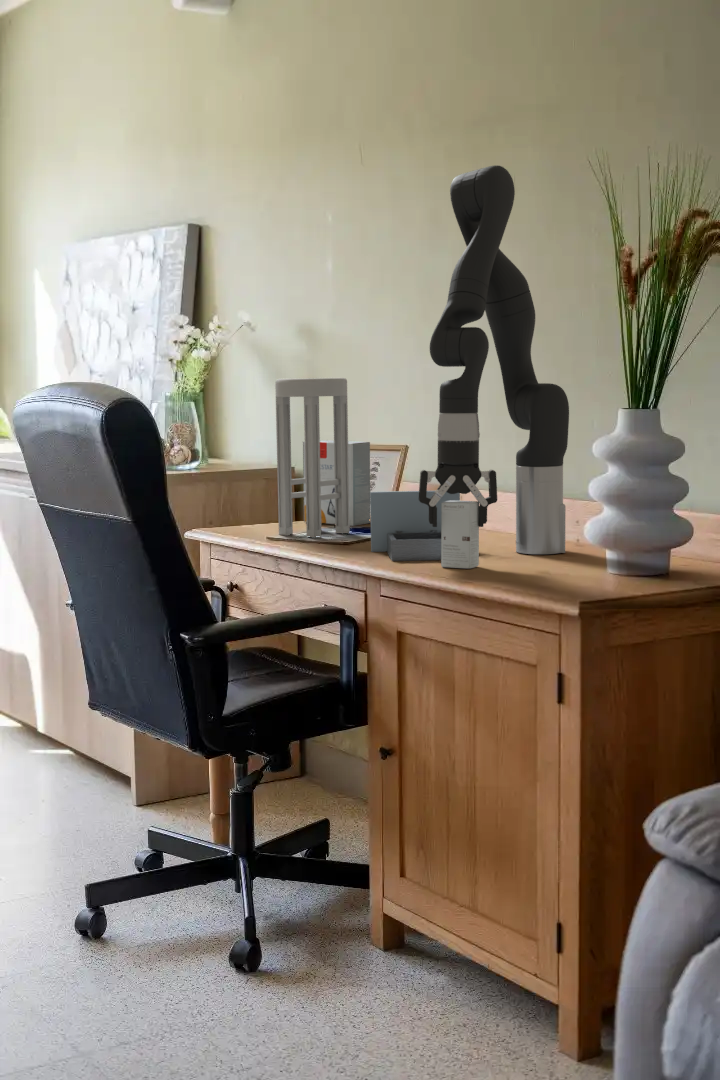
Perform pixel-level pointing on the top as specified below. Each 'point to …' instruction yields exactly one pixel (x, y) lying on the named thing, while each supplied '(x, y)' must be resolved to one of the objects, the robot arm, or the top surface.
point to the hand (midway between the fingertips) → (457, 526)
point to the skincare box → (460, 534)
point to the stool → (312, 452)
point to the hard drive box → (357, 481)
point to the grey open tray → (414, 546)
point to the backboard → (401, 514)
